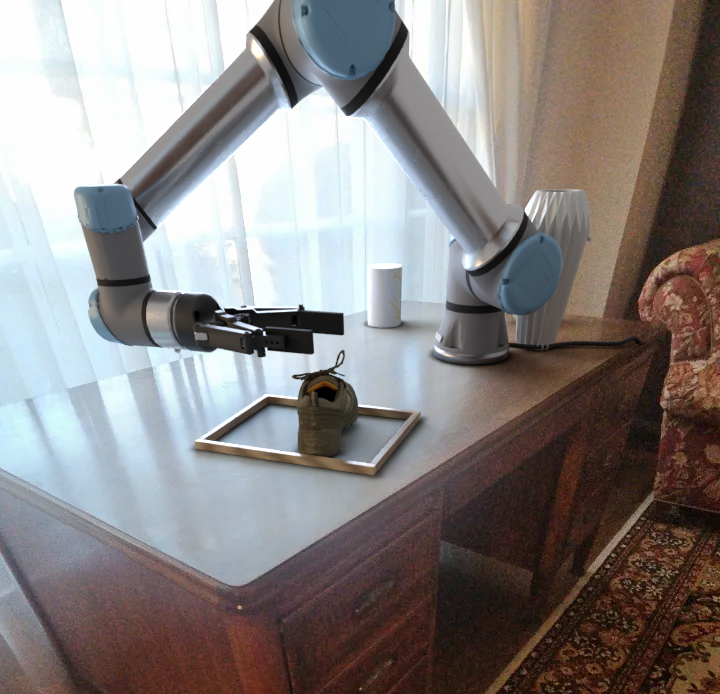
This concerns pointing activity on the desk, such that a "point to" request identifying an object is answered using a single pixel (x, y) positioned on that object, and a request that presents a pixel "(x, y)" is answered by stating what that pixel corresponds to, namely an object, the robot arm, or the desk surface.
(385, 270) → the cup
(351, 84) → the robot arm
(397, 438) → the wooden frame
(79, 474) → the desk surface
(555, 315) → the vase
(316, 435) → the hiking shoe
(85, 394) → the desk surface
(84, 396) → the desk surface
